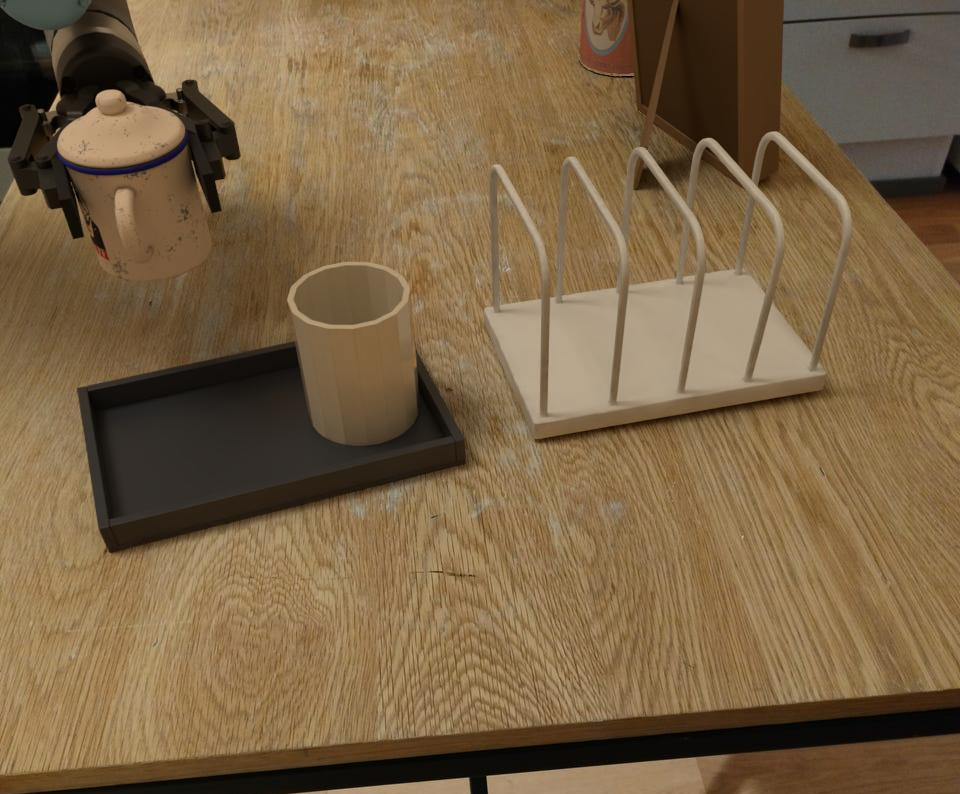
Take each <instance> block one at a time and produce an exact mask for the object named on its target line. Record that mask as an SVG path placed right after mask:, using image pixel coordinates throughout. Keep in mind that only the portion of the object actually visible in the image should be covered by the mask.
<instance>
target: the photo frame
mask: <svg viewBox="0 0 960 794" xmlns="http://www.w3.org/2000/svg"><path fill="white" fill-rule="evenodd" d="M627 3H628V14H629V25H630V36H631V47H632V57H633V68H634V77H633V78H634V89H635V98H636V109H637V110H638V111H640V112H641V113H642V114H644V115H645V116H646V117H645V121H644V125H643V130H642V135H641V139H640V144H639V147H644V148H646V149H647V151H649V150H648V149H649V146H650V141H651V136H652V132H653V127H654V125H655V124H656V126H657V125H658V126H659V127H658V126H657V127H658V128H660V129H661V130H662V131H663V132H665V133H666V132H667V133H666V134H668V135H669V136H670V137H672V138H673V139H675V141H677V142H678V143H680V144H681V145H683V146H684V147H686V149H688V150H690V151H691V152H692V153H694V152H695V149H696V146H697V145H698V143H699V142H700V141H701V140H702V139H706V138H712V139H714V140H715V141H716V142H718V144H719V145H720V146H721V147H722V148H723V149H724V150H725V151H726V152H727V154H728V155H729V156H730V157H731V158H732V159H733V160H734V161H735V162H736V164H737V165H738V166H739V167H740V168H741V169H742V170H743V171H744V173H745V174H746V175H747V176H748V177H749V178H750V179H751V180H752V174H753V168H754V163H755V158H756V153H757V149H758V146H759V143H760V141H761V139H762V137H763V136H764V135H765V134H767V133H769V132H774V131H775V132H779V133H780V134H781V114H782V113H781V112H782V111H781V110H782V107H781V106H782V81H783V79H782V75H783V45H784V44H783V43H784V12H785V11H784V10H785V0H627ZM637 110H636V111H637ZM638 111H637V112H638ZM642 114H641V115H642ZM653 122H654V123H655V124H654V123H653ZM701 159H702V160H704V162H706V163H707V164H710V166H712V167H714V168H715V169H716V170H717V171H718V172H720V173H722V175H724V176H725V177H727V178H729V180H731V181H733V182H734V184H737V185H738V186H740V187H741V188H742V189H744V190H746V189H745V188H744V187H743V186H742V184H741V183H740V182H739V181H738V180H737V179H736V177H734V176H733V174H732V173H731V172H730V171H729V170H728V168H727V167H726V166H725V165H724V164H723V163H722V162H721V161H720V160H719V158H718V157H717V156H716V155H715V154H714V153H713V152H712V151H711V149H710V148H708V147H706V148H705V149H704V151H703V153H702V156H701ZM644 165H645V162H644V161H643V160H642V158H641V157H640V156H639V157H638V159H637V162H636V167H635V174H634V186H633V189H638V187H639V183H640V181H641V177H642V173H643V168H644ZM779 170H780V146H779V145H778V144H777V143H776V142H775V141H773V140H771V141H770V142H769V143H768V145H767V147H766V149H765V153H764V157H763V162H762V167H761V172H760V178H759V182H760V181H762V180H764V179H766V178H767V177H770V176H771V175H773V174H775V173H777V172H779Z"/></svg>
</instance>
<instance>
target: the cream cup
mask: <svg viewBox="0 0 960 794" xmlns="http://www.w3.org/2000/svg"><path fill="white" fill-rule="evenodd" d="M286 298H287V299H286V304H287V308H288V312H289V313H288V314H289V319H290V325H291V330H292V335H293V341H295V346H296V351H297V356H298V361H299V366H300V372H301V377H302V382H303V387H304V392H305V398H306V403H307V408H308V413H309V416H310V419H311V423H312V425H313V427H314V428H315V429H316V431H317V432H319V433H320V434H321V435H322V436H324V437H325V438H327V439H329V440H331V441H334V442H337V443H340V444H345V445H353V446H366V445H374V444H379V443H383V442H386V441H389V440H391V439H394V438H396V437H398V436H400V435H401V434H403V433H404V432H406V431H407V430H408V429H409V428H410V427H411V426H412V425H413V424H414V422H415V421H416V419H417V417H418V413H419V403H420V401H419V388H418V376H417V363H416V351H415V349H416V340H415V327H414V315H413V314H414V313H413V302H412V291H411V287H410V285H409V283H408V281H407V280H406V278H405V276H404V275H402V274H401V273H400V272H397V271H396V270H395V269H393V268H391V267H390V266H387V265H383V264H378V263H374V262H370V261H342V262H336V263H332V264H326V265H323V266H320V267H318V268H316V269H314V270H311V271H309V272H307V273H305V274H303V275H302V276H301V277H300V278H299V279H298V280H296V281H295V282H294V283H293V284H292V285H291V287H290V289H289V292H288V295H287V297H286Z"/></svg>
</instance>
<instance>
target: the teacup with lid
mask: <svg viewBox="0 0 960 794" xmlns="http://www.w3.org/2000/svg"><path fill="white" fill-rule="evenodd" d="M95 101H96V105H97V107H96V108H94V109H92V110H91V111H89V112H88V113H87V114H86V115H85V116H82V117H80V118H78V119H76V120H75V121H73V122H72V123H70V124H69V125H68V126H66V127H65V128H64V129H63V131H62V132H61V134H60V135H59V138H58V142H57V148H58V149H57V154H58V157H59V159H60V161H61V162H62V163H63V164H64V165H65V166H66V169H67V172H68V175H69V178H70V180H71V184H72V187H73V190H74V193H75V196H76V201H77V204H78V207H79V209H80V212H81V214H82V218H83V220H84V223H85V225H86V228H87V232H88V234H89V236H90V237H89V238H90V240H91V243H92V245H93V248H94V251H95V254H96V256H97V259H98V262H99V264H100V266H101V267H102V269H103V270H104V271H105V272H106V273H108V274H109V275H110V276H112V277H114V278H116V279H119V280H123V281H127V282H132V283H156V282H162V281H166V280H171V279H175V278H178V277H180V276H183V275H185V274H187V273H190V272H191V271H194V269H196V268H198V267H199V266H200V265H201V264H203V263H204V262H205V261H206V260H207V258H208V257H209V255H210V253H211V250H212V247H213V243H212V236H211V232H210V229H209V225H208V221H207V217H206V213H205V208H204V205H203V201H202V197H201V193H200V189H199V185H198V181H197V176H196V172H195V168H194V164H193V161H192V160H191V157H190V153H189V149H188V145H187V143H188V139H189V135H188V131H187V129H186V128H185V126H184V124H183V123H182V121H181V120H180V119H179V118H178V117H177V116H176V115H174V114H173V113H171V112H169V111H167V110H164V109H161V108H157V107H151V106H141V105H139V104H136V103H132V102H126V98H125V96H124V94H123V93H122V92H120V91H118V90H105V91H102V92H100V93H99V94H97V96H96V99H95Z"/></svg>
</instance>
